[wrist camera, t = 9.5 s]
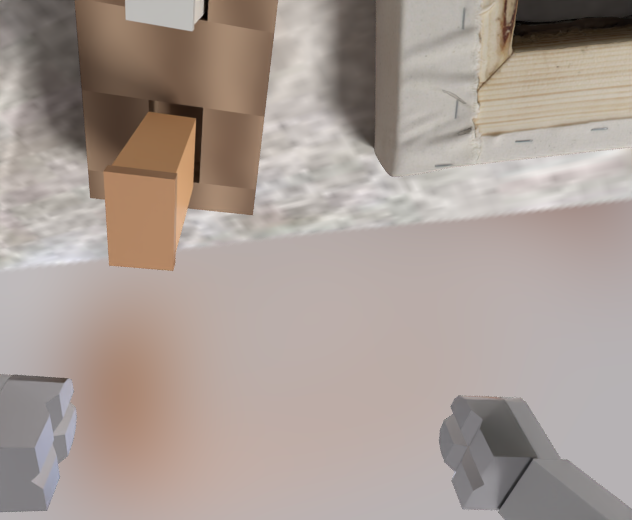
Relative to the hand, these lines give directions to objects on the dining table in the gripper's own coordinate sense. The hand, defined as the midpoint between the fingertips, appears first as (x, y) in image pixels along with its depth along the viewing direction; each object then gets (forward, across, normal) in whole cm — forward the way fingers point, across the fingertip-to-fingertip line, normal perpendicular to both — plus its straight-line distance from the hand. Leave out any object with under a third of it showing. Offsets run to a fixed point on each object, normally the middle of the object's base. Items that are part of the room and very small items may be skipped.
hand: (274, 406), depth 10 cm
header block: (+33, +6, -1) cm, 33 cm away
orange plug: (+25, +6, +4) cm, 26 cm away
